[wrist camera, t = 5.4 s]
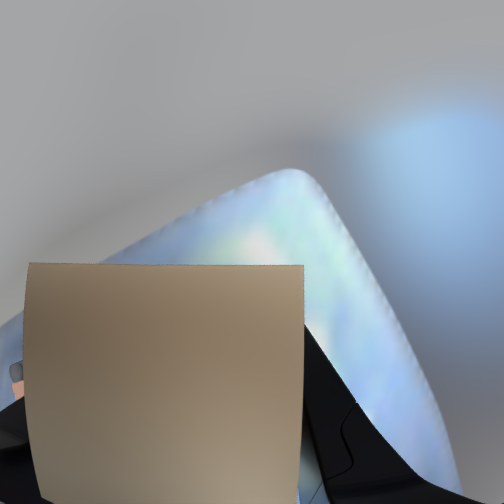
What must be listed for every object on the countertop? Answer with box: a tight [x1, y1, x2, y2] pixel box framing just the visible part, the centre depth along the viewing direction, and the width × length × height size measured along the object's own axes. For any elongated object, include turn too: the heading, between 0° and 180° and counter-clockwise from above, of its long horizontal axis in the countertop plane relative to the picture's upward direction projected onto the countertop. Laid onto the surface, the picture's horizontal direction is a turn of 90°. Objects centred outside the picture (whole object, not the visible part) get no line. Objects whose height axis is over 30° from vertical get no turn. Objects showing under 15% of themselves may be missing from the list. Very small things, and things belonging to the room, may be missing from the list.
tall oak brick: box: [23, 263, 304, 504], centre depth 9 cm, size 4×4×12 cm
